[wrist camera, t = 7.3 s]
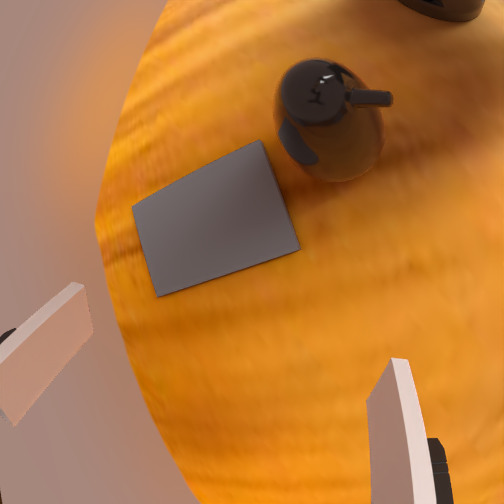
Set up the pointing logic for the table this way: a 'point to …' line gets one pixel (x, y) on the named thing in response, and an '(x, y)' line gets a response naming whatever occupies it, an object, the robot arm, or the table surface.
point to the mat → (215, 221)
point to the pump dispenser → (329, 119)
